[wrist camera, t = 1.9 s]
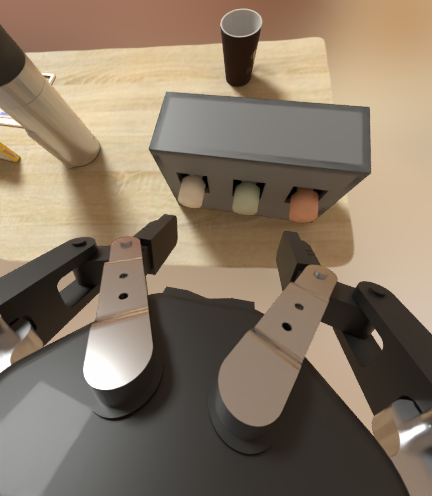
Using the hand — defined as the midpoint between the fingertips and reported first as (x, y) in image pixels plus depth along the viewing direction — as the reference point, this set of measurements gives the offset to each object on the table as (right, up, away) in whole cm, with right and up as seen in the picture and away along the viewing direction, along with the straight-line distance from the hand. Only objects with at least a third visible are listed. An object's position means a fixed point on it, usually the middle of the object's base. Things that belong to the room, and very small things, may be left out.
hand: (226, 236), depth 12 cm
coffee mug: (+6, +45, +36) cm, 58 cm away
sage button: (+5, +8, +20) cm, 22 cm away
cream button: (-4, +10, +21) cm, 23 cm away
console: (+6, +11, +28) cm, 30 cm away
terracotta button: (+13, +7, +19) cm, 24 cm away
